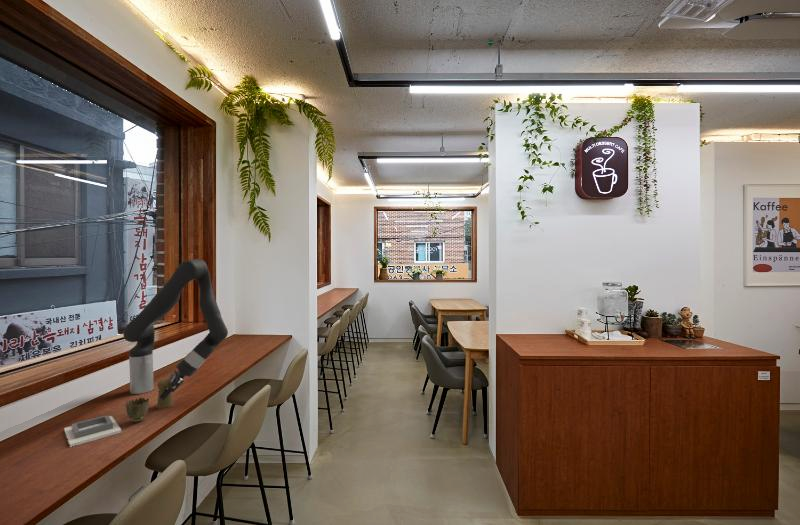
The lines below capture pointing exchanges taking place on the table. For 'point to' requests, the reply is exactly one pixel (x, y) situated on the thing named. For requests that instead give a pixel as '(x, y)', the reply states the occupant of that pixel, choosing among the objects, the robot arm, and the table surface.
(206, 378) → the table surface
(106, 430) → the socket board
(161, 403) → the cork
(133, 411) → the cup
